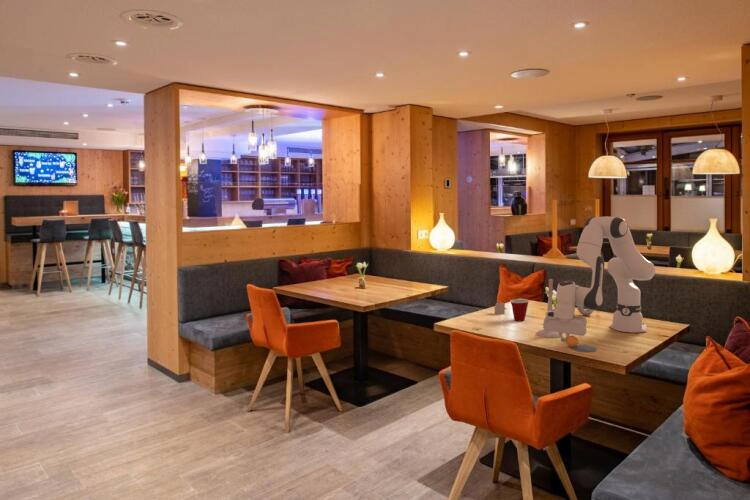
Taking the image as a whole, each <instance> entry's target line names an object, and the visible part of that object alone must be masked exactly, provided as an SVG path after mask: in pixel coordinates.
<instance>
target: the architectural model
mask: <svg viewBox="0 0 750 500" xmlns="http://www.w3.org/2000/svg"><path fill="white" fill-rule="evenodd" d="M505 310H507V308H506V303H505V302H501V301H500V302H496V303H495V306H494V315H505V314H506V313H505Z"/></svg>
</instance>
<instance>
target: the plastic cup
mask: <svg viewBox="0 0 750 500" xmlns="http://www.w3.org/2000/svg"><path fill="white" fill-rule="evenodd" d="M509 302H510V304H511V307H512V308H511V309H512V314H513V319H514V321H516V322H524V321H525V320H526V315H527V310H528V305H529V302H530V300H529V299H523V298H517V299H516V298H515V299H510V301H509Z"/></svg>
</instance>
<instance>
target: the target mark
mask: <svg viewBox="0 0 750 500" xmlns="http://www.w3.org/2000/svg"><path fill="white" fill-rule="evenodd" d="M569 347H570V346H569ZM569 349H571V350H573V351H577V352H581V353H594V352H596V351H598V348H596V347H595V346H593V345H588V344H577V346H575V347H570V348H569Z"/></svg>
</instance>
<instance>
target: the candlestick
mask: <svg viewBox="0 0 750 500" xmlns="http://www.w3.org/2000/svg"><path fill="white" fill-rule="evenodd" d="M553 283H554V279H552V278H549V279H548V291H546V293H547V296H548V299H547V310H546V312H547V311H549V310H553V296H554V293H555V292H554V291H553V290H554V288H553V286H554V285H553ZM535 334H536V335H537V336H538V337H541V338H547V339H558V338H559V339H560V336H559V332H555V331H548V330H544V328H543V329H539V330H538V331H536V333H535Z"/></svg>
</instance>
